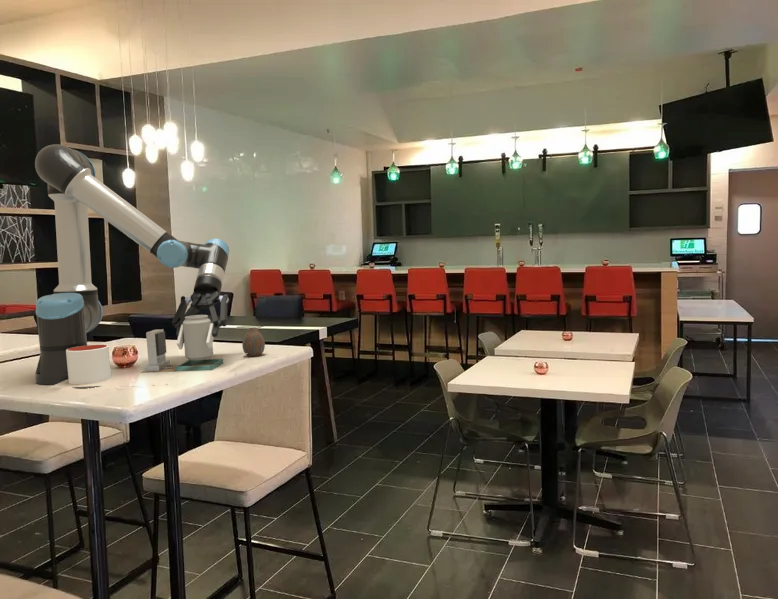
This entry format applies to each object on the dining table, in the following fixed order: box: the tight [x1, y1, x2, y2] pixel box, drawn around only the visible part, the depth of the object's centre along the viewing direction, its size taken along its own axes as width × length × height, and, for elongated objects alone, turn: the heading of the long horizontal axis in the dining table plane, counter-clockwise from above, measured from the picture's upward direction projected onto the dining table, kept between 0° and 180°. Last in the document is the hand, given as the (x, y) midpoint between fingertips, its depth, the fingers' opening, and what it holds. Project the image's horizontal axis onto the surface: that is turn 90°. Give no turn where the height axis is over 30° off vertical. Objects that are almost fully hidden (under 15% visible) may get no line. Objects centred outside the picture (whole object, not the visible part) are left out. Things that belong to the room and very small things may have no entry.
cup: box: [66, 344, 112, 390], centre depth 163 cm, size 10×10×10 cm
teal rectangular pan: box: [139, 358, 224, 374], centre depth 175 cm, size 20×10×3 cm, turn 88°
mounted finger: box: [144, 328, 171, 373], centre depth 174 cm, size 4×8×11 cm, turn 178°
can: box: [183, 314, 214, 360], centre depth 174 cm, size 8×8×12 cm
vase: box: [241, 327, 266, 358], centre depth 198 cm, size 7×7×9 cm
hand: (194, 345), depth 170 cm, fingers closed on can, 7 cm apart
